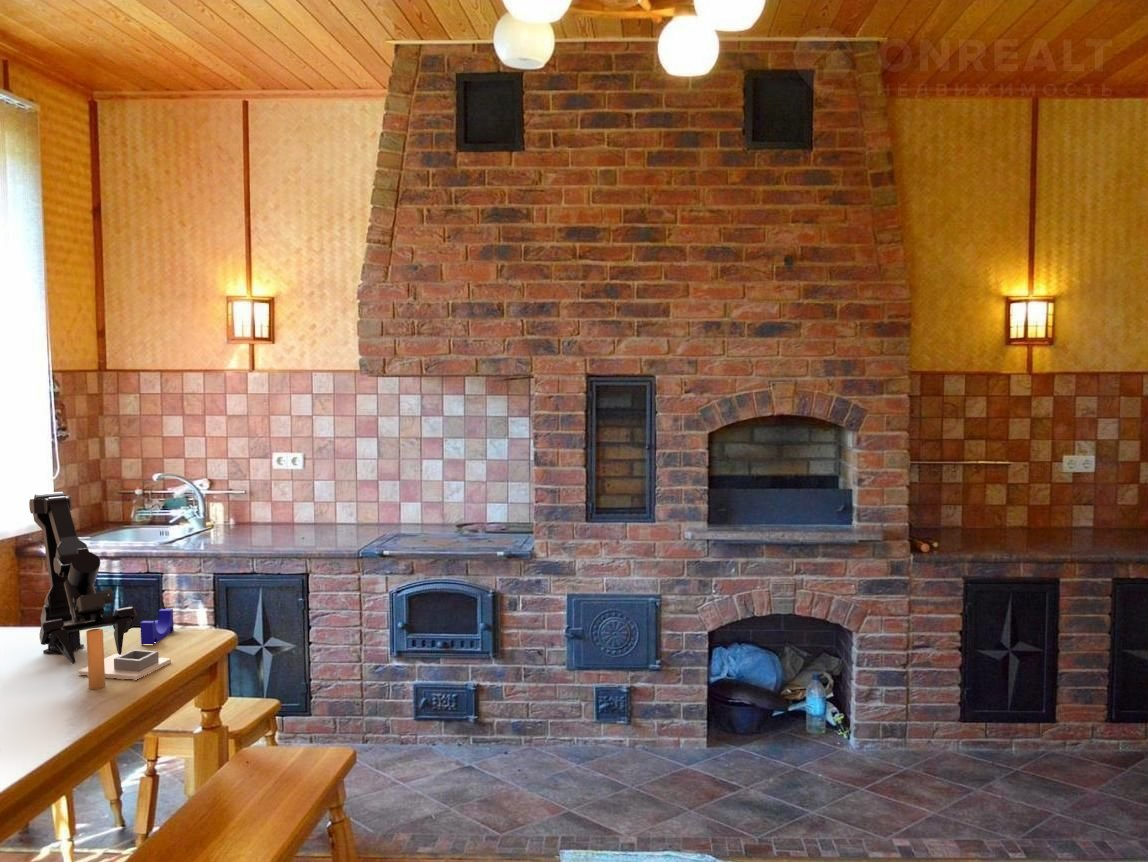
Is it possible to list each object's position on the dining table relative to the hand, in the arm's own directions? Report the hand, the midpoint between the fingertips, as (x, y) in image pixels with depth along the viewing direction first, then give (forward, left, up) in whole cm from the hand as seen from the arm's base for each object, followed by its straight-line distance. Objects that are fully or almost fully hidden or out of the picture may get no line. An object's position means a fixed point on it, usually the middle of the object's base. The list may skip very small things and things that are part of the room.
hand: (97, 658), depth 201 cm
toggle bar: (-1, +1, -7) cm, 7 cm away
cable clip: (-11, +33, -7) cm, 36 cm away
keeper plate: (-3, +12, -7) cm, 14 cm away
